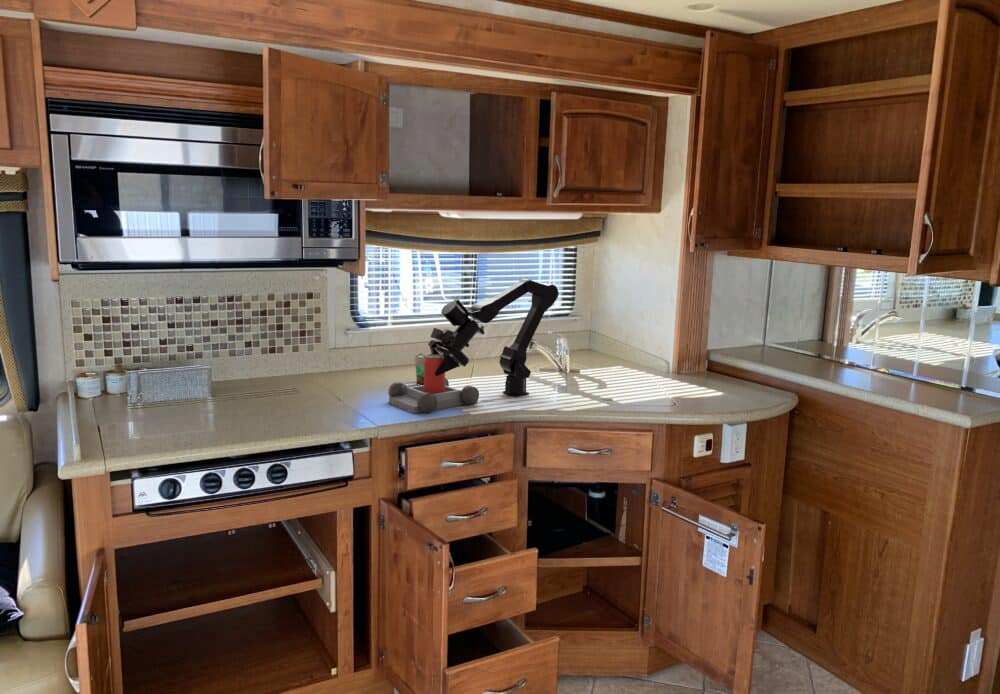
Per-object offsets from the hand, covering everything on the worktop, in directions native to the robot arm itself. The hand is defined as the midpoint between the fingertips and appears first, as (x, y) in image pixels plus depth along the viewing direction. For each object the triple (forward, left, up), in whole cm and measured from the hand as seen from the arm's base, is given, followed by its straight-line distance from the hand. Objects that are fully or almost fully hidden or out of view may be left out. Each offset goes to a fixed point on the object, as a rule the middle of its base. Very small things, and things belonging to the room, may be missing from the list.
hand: (430, 372), depth 245 cm
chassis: (-1, 0, -10) cm, 10 cm away
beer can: (-1, 0, -7) cm, 7 cm away
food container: (-13, -23, -10) cm, 28 cm away
